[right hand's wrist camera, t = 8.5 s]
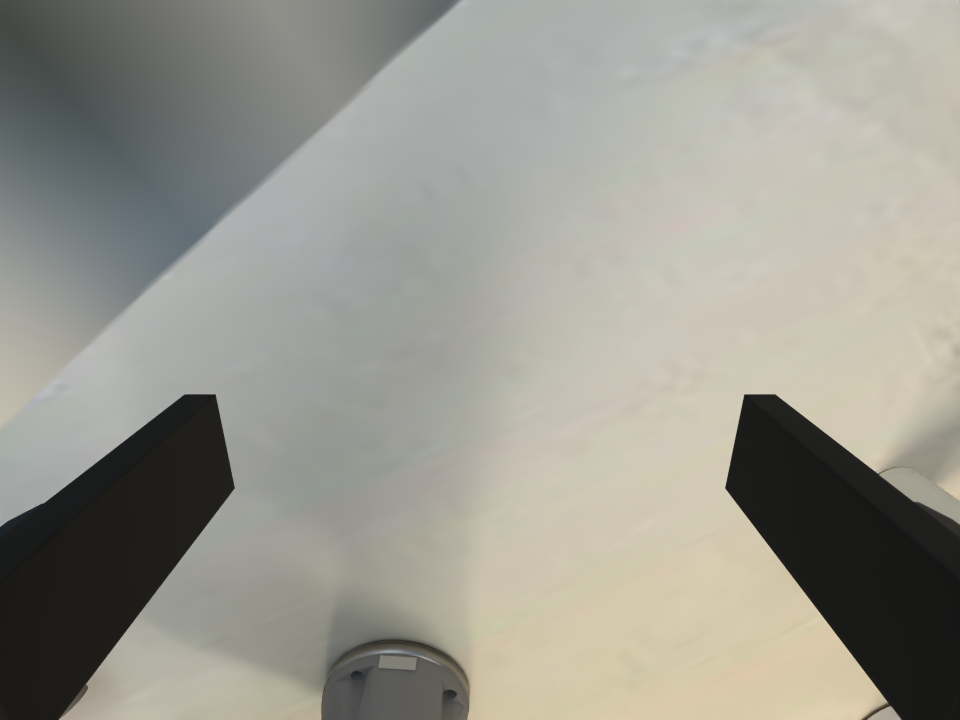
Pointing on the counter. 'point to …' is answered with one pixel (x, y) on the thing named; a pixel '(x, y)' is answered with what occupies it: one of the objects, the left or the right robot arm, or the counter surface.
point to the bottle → (923, 491)
